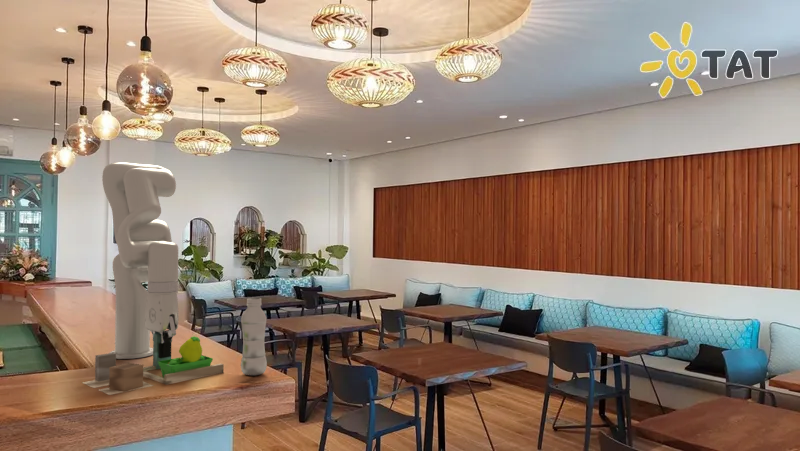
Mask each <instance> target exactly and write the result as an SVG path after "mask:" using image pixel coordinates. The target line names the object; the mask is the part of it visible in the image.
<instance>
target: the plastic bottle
mask: <svg viewBox="0 0 800 451" xmlns="http://www.w3.org/2000/svg"><path fill="white" fill-rule="evenodd" d="M262 305H263V304H262V298H260V297H249V298H247V299H246V306H247V307H246V309H245V310H244V311H243V313H242V315H241V316H240V317H241V318H240V322H241V331H242V339H243V340H242V342H243V345H242V355H241V356H242V357H241V360H240V361H241V362H240V369H241V372H242V375H247V376H253V377H254V376H259V375H262V374H265V372H266V370H267V367H268V366H267V365H268V363H267V356H266V350H265V348H266V347H265V338H266V337H265V335H266V326H267V319H268V318H267V315H266V314H265V312H264V311H263V309H262V307H261V306H262Z"/></svg>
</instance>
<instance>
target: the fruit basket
mask: <svg viewBox="0 0 800 451" xmlns="http://www.w3.org/2000/svg"><path fill="white" fill-rule="evenodd" d="M178 353H179V354H180V356H181V357H175V358H171V359H169V360H163V361H159V362H158V364H159V366H160V368H161V369H160V371H161V375H162V376H161V377H163V378H164V375H166V374H171V373H176V372H181V371H186V370H191V369H196V368H201V367H206V366H211V364H212V362H213V357H209V356H206V355H203V348H202V345H201V339H200V337H197V336H191V337H189V338H188V339H187V340H186V341H185V342H184V343H183V344H182V345H181V346H180V347H179V350H178Z"/></svg>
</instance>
